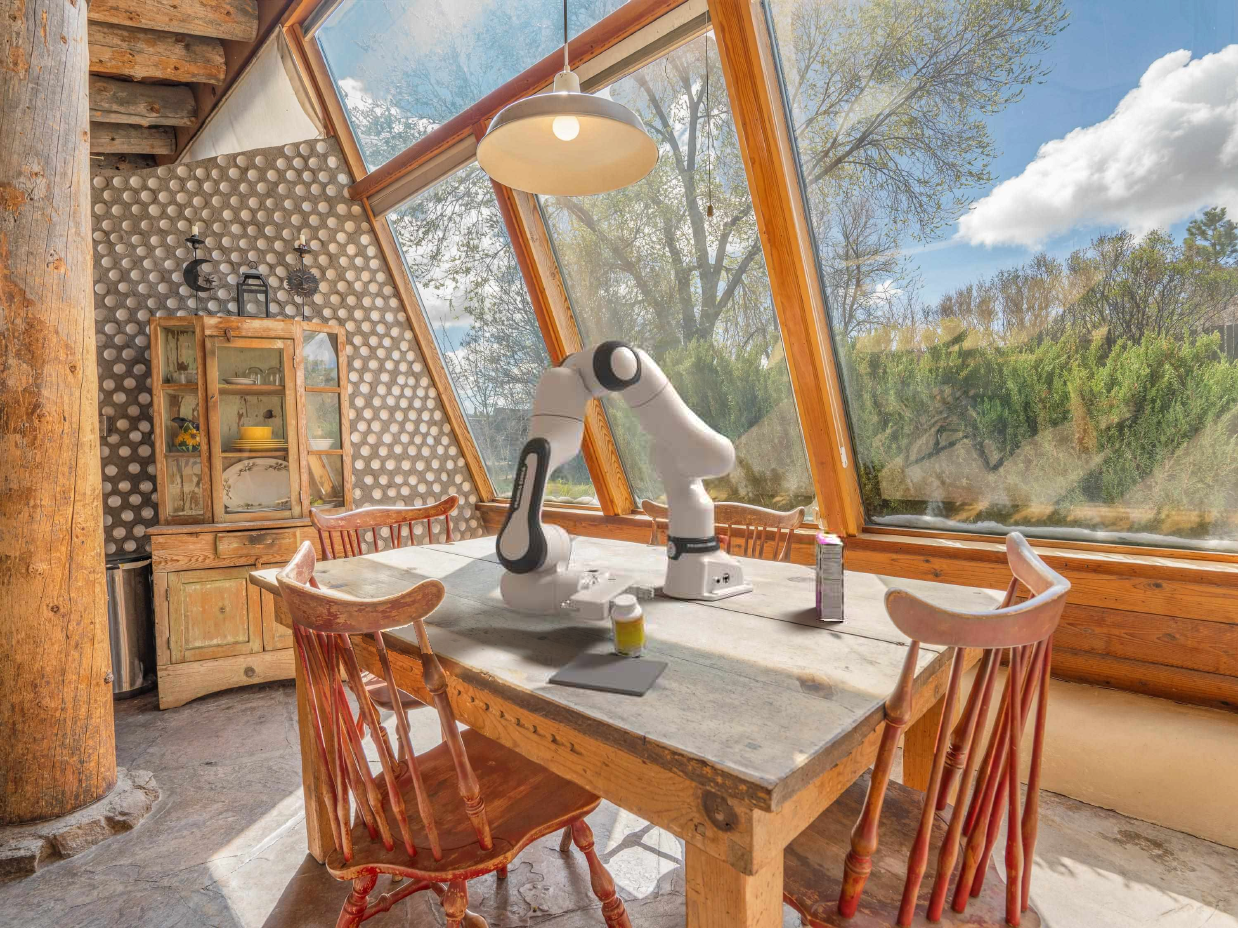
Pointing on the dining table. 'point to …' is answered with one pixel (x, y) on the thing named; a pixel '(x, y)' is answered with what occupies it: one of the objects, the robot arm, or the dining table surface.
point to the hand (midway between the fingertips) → (645, 599)
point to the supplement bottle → (627, 626)
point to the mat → (610, 673)
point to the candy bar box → (829, 576)
